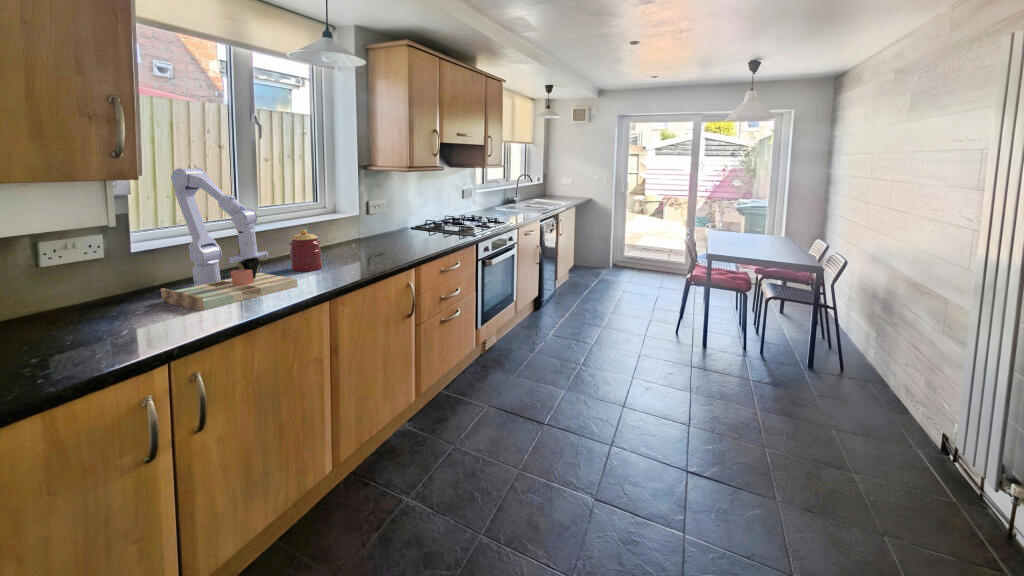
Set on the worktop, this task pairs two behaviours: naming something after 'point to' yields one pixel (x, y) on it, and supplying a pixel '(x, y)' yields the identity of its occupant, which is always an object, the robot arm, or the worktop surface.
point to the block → (242, 277)
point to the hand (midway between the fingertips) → (252, 278)
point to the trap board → (226, 292)
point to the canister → (305, 252)
